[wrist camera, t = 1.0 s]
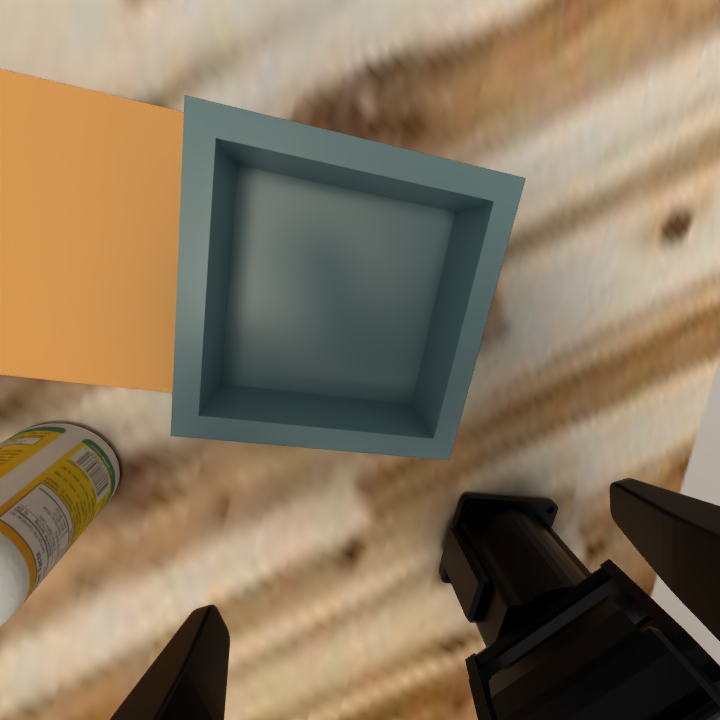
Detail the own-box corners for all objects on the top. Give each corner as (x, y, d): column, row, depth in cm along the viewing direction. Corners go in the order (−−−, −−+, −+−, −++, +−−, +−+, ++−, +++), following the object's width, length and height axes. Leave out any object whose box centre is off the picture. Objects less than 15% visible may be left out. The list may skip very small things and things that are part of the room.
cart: (452, 203, 16) (525, 178, 11) (408, 399, 19) (449, 460, 13) (232, 155, 15) (184, 95, 9) (216, 376, 17) (170, 435, 12)
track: (464, 182, 17) (470, 179, 16) (411, 413, 20) (414, 419, 19) (-156, 38, 13) (-182, 26, 12) (-103, 357, 16) (-121, 361, 15)
